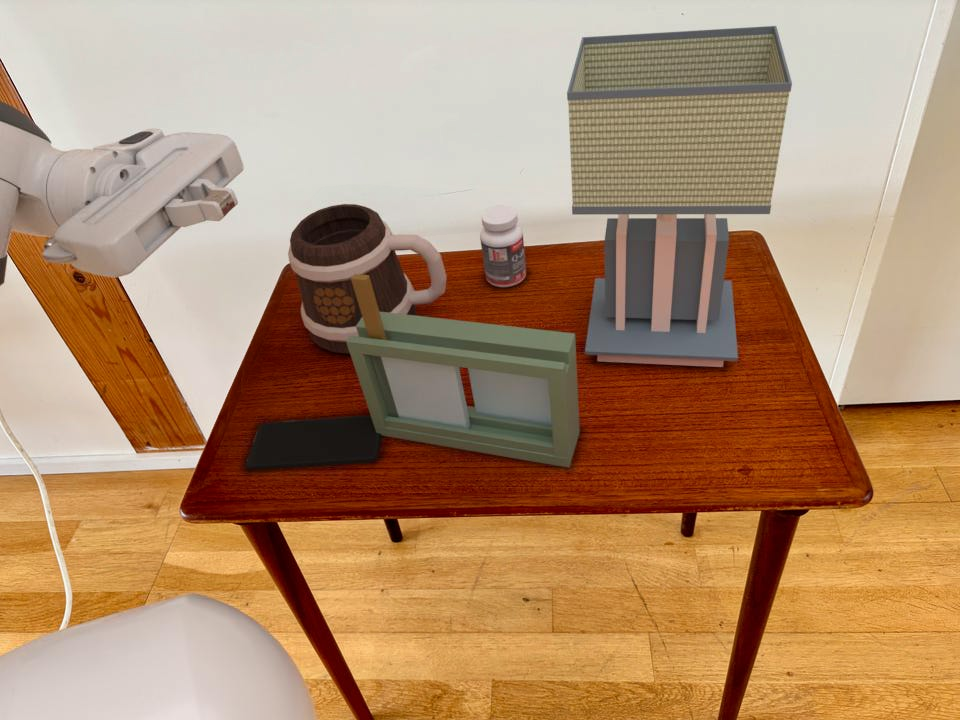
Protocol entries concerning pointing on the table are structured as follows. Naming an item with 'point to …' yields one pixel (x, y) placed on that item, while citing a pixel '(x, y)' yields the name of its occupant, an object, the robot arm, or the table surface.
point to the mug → (354, 270)
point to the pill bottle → (502, 246)
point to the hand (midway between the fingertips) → (227, 204)
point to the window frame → (483, 385)
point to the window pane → (412, 375)
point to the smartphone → (314, 443)
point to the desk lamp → (673, 180)
